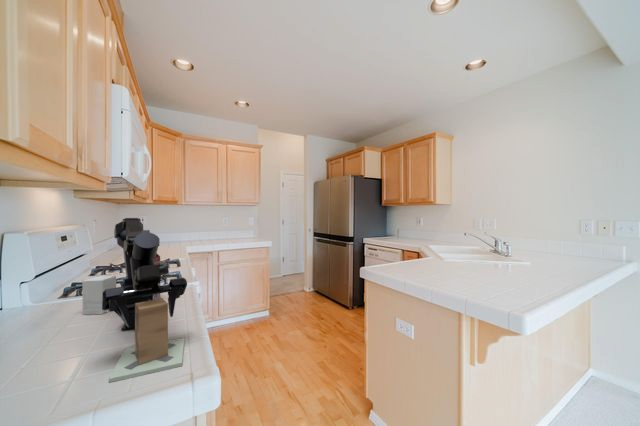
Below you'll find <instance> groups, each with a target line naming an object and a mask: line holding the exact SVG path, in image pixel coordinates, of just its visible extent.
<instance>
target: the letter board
mask: <svg viewBox="0 0 640 426" xmlns="http://www.w3.org/2000/svg"><path fill="white" fill-rule="evenodd" d="M184 350H185V337H183V338H177V339H172V340H168V355H167V356H164V357H161V358H158V359H155V360H152V361H149V362H146V363H143V364H140V365H139V363H138V361H137V358H136V356H135V346H134V347H129V348H125V349H124V350H123V352H122V353H121V354H120V357H119V360H118V361H117V363H116V365H115V367H114V368H113V371H112V372H111V374H110V376H109V378H108V383H114V382H118V381H122V380H126V379H130V378H131V379H132V378H135V377H140V376H144V375H145V376H146V375H148V374H153V373H154V374H155V373H156V372H158V373H159V372H161V371H165V370H171V369H175V368H180V367H182V366H183V361H184V360H183V359H184V358H183V357H184V352H185V351H184Z"/></svg>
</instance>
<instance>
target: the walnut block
mask: <svg viewBox="0 0 640 426" xmlns="http://www.w3.org/2000/svg"><path fill="white" fill-rule="evenodd" d="M168 341H169V305H168V301H166V300H165V299H164V298H162V297H160V299H155V300H150V301H145V302H139V303H135V329H134V347H135V356H136V358H137V361H138V363H139V365H140V364H143V363H146V362H149V361H152V360H155V359H158V358H161V357H164V356H167V355H168Z"/></svg>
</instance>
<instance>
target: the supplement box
mask: <svg viewBox="0 0 640 426" xmlns="http://www.w3.org/2000/svg"><path fill="white" fill-rule="evenodd" d="M81 283H82V288H81V289H82V315H83V316H84V315H104V314H106V313H107V311H108V312H110V311H109V310H102V292H103V291H104V290H105V289H111V288H117V276H116V275H108V276H107V275H106V276H105V275H100V276H95V277H91V278H87V279H84V280H82V281H81ZM105 312H106V313H105Z"/></svg>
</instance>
